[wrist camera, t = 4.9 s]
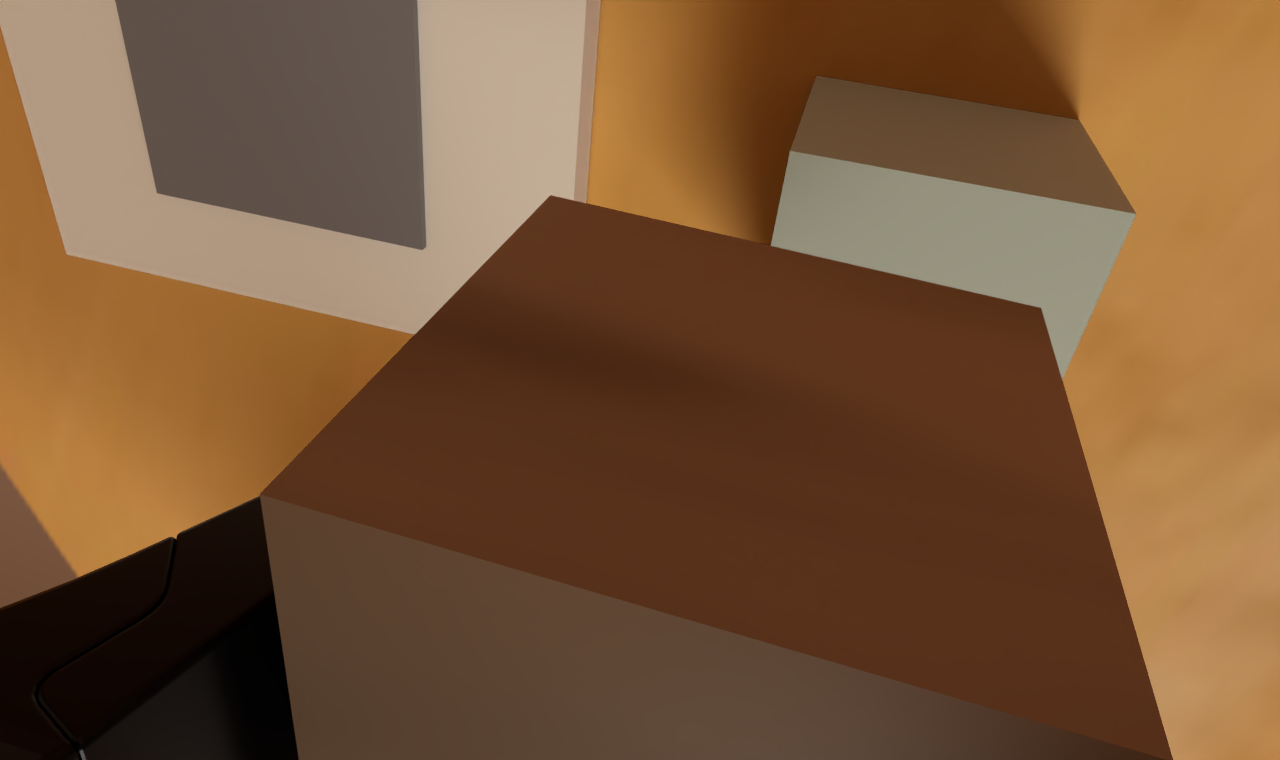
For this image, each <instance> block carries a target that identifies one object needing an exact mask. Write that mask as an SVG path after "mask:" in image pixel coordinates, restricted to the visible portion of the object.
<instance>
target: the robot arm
mask: <svg viewBox="0 0 1280 760" xmlns="http://www.w3.org/2000/svg"><path fill="white" fill-rule="evenodd" d="M0 760H299V758H298V751H297V744H296V737H295V730H294V724H293V717H292V710H291V703H290V696H289V690H288V683H287V676H286V669H285V662H284V656H283V649H282V642H281V635H280V628H279V622H278V615H277V608H276V601H275V594H274V588H273V581H272V574H271V567H270V560H269V554H268V547H267V540H266V533H265V526H264V520H263V513H262V506H261V499H260V496H259V497H257V498H254V499H252V500H250V501H248V502H246V503H244V504H241V505H239V506H237V507H235V508H233V509H230V510H228V511H226V512H224V513H222V514H219V515H217V516H215V517H213V518H211V519H209V520H206V521H204V522H202V523H200V524H198V525H195V526H193V527H191V528H189V529H187V530H184V531H182V532H180V533H179V534H178V535H177V539H175V538H173V537H169V538H166V539H164V540H162V541H160V542H158V543H155V544H153V545H151V546H149V547H147V548H145V549H142V550H140V551H138V552H136V553H134V554H131V555H129V556H127V557H124V558H122V559H120V560H117V561H115V562H113V563H111V564H108V565H106V566H104V567H101V568H99V569H97V570H94V571H92V572H90V573H87V574H85V575H83V576H81V577H78V578H76V579H74V580H71V581H68V582H66V583H63V584H61V585H58V586H56V587H53V588H50V589H48V590H45V591H43V592H40V593H38V594H36V595H33V596H30V597H28V598H25V599H22V600H20V601H17V602H15V603H12V604H10V605H7V606H4V607H2V608H0Z"/></svg>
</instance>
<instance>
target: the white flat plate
mask: <svg viewBox="0 0 1280 760" xmlns="http://www.w3.org/2000/svg"><path fill="white" fill-rule="evenodd" d="M600 5H601V0H0V27H1V30H2V34H3V37H4V41H5V44H6V47H7V51H8V54H9V58H10V61H11V65H12V68H13V72H14V75H15V79H16V82H17V85H18V89H19V92H20V96H21V99H22V103H23V106H24V110H25V113H26V117H27V120H28V123H29V127H30V130H31V134H32V137H33V141H34V144H35V148H36V151H37V155H38V158H39V161H40V165H41V168H42V172H43V175H44V179H45V182H46V186H47V189H48V193H49V196H50V199H51V203H52V206H53V210H54V213H55V217H56V220H57V224H58V227H59V231H60V234H61V237H62V241H63V244H64V248H65V251H66V254H67V255H71V256H76V257H80V258H84V259H89V260H93V261H97V262H102V263H106V264H110V265H115V266H119V267H123V268H128V269H132V270H136V271H141V272H145V273H149V274H154V275H158V276H162V277H167V278H171V279H175V280H180V281H184V282H189V283H193V284H197V285H202V286H206V287H210V288H215V289H219V290H223V291H228V292H232V293H236V294H241V295H245V296H249V297H254V298H258V299H262V300H267V301H271V302H275V303H280V304H284V305H288V306H293V307H297V308H301V309H306V310H310V311H314V312H319V313H323V314H327V315H332V316H336V317H340V318H345V319H349V320H353V321H358V322H362V323H366V324H371V325H375V326H379V327H384V328H388V329H393V330H397V331H401V332H406V333H410V334H414V335H415V334H416V333H417V332H418V331H419V330H420V329H421V328H422V327H423V326H424V325H425V324H426V323H427V322H428V321H429V320H430V319H431V318H432V317H433V315H434V314H435V313H436V312H437V311H438V310H439V309H440V308H441V307H442V306H443V305H444V304H445V303H446V302H447V301H448V300H449V299H450V298H451V297H452V296H453V295H454V294H455V293H456V292H457V291H458V290H459V289H460V288H461V287H462V286H463V285H464V284H465V283H466V282H467V280H468V279H469V278H470V277H471V276H472V275H473V274H474V273H475V272H476V271H477V270H478V269H479V268H480V267H481V266H482V265H483V264H484V263H485V262H486V261H487V260H488V259H489V258H490V257H491V256H492V255H493V254H494V253H495V252H496V251H497V250H498V249H499V248H500V247H501V246H502V244H503V243H504V242H505V241H506V240H507V239H508V238H509V237H510V236H511V235H512V234H513V233H514V232H515V231H516V230H517V229H518V228H519V227H520V226H521V225H522V224H523V223H524V222H525V221H526V220H527V219H528V218H529V217H530V216H531V215H532V214H533V213H534V212H535V211H536V209H537V208H538V207H539V206H540V205H541V204H542V203H543V202H544V201H545V200H546V199H547V198H548V197H549V196H550V195H552V196H556V197H561V198H565V199H570V200H574V201H578V202H583V203H586V198H587V185H588V171H589V157H590V143H591V129H592V116H593V102H594V88H595V74H596V60H597V47H598V33H599V19H600Z"/></svg>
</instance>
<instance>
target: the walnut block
mask: <svg viewBox="0 0 1280 760" xmlns="http://www.w3.org/2000/svg"><path fill="white" fill-rule="evenodd" d="M260 499H261V506H262V513H263V520H264V526H265V533H266V540H267V547H268V554H269V560H270V567H271V574H272V581H273V588H274V594H275V601H276V608H277V615H278V622H279V628H280V635H281V642H282V649H283V656H284V662H285V669H286V676H287V683H288V690H289V696H290V703H291V710H292V717H293V724H294V730H295V737H296V744H297V751H298V758H299V760H1173V758H1172V755H1171V751H1170V748H1169V744H1168V741H1167V738H1166V734H1165V731H1164V727H1163V724H1162V720H1161V717H1160V714H1159V710H1158V707H1157V703H1156V700H1155V696H1154V693H1153V690H1152V686H1151V683H1150V679H1149V676H1148V672H1147V669H1146V666H1145V662H1144V659H1143V655H1142V652H1141V648H1140V645H1139V642H1138V638H1137V635H1136V631H1135V628H1134V624H1133V621H1132V618H1131V614H1130V611H1129V607H1128V604H1127V600H1126V597H1125V594H1124V590H1123V587H1122V583H1121V580H1120V576H1119V573H1118V570H1117V566H1116V563H1115V559H1114V556H1113V552H1112V549H1111V546H1110V542H1109V539H1108V535H1107V532H1106V528H1105V525H1104V522H1103V518H1102V515H1101V511H1100V508H1099V504H1098V501H1097V498H1096V494H1095V491H1094V487H1093V484H1092V481H1091V477H1090V474H1089V470H1088V467H1087V463H1086V460H1085V457H1084V453H1083V450H1082V446H1081V443H1080V439H1079V436H1078V433H1077V429H1076V426H1075V422H1074V419H1073V415H1072V412H1071V409H1070V405H1069V402H1068V398H1067V395H1066V391H1065V388H1064V385H1063V381H1062V378H1061V374H1060V371H1059V367H1058V364H1057V361H1056V357H1055V354H1054V350H1053V347H1052V343H1051V340H1050V337H1049V333H1048V330H1047V326H1046V323H1045V319H1044V316H1043V313H1042V309H1041V308H1039V307H1035V306H1031V305H1026V304H1022V303H1018V302H1013V301H1009V300H1005V299H1000V298H996V297H992V296H987V295H983V294H978V293H974V292H970V291H965V290H961V289H957V288H952V287H948V286H944V285H939V284H935V283H931V282H926V281H922V280H918V279H913V278H909V277H905V276H900V275H896V274H891V273H887V272H883V271H878V270H874V269H870V268H865V267H861V266H857V265H852V264H848V263H844V262H839V261H835V260H831V259H826V258H822V257H818V256H813V255H809V254H804V253H800V252H796V251H791V250H787V249H783V248H778V247H774V246H770V245H765V244H761V243H757V242H752V241H748V240H744V239H739V238H735V237H731V236H726V235H722V234H717V233H713V232H709V231H704V230H700V229H696V228H691V227H687V226H683V225H678V224H674V223H670V222H665V221H661V220H657V219H652V218H648V217H643V216H639V215H635V214H630V213H626V212H622V211H617V210H613V209H609V208H604V207H600V206H596V205H591V204H587V203H583V202H578V201H574V200H570V199H565V198H561V197H556V196H552V195H550V196H549V197H548V198H547V199H546V200H545V201H544V202H543V203H542V204H541V205H540V206H539V207H538V208H537V209H536V211H535V212H534V213H533V214H532V215H531V216H530V217H529V218H528V219H527V220H526V221H525V222H524V223H523V224H522V225H521V226H520V227H519V228H518V229H517V230H516V231H515V232H514V233H513V234H512V235H511V236H510V237H509V238H508V239H507V240H506V241H505V242H504V243H503V244H502V246H501V247H500V248H499V249H498V250H497V251H496V252H495V253H494V254H493V255H492V256H491V257H490V258H489V259H488V260H487V261H486V262H485V263H484V264H483V265H482V266H481V267H480V268H479V269H478V270H477V271H476V272H475V273H474V274H473V275H472V276H471V277H470V278H469V279H468V280H467V282H466V283H465V284H464V285H463V286H462V287H461V288H460V289H459V290H458V291H457V292H456V293H455V294H454V295H453V296H452V297H451V298H450V299H449V300H448V301H447V302H446V303H445V304H444V305H443V306H442V307H441V308H440V309H439V310H438V311H437V312H436V313H435V314H434V315H433V317H432V318H431V319H430V320H429V321H428V322H427V323H426V324H425V325H424V326H423V327H422V328H421V329H420V330H419V331H418V332H417V333H416V334H415V335H414V336H413V337H412V338H411V339H410V340H409V341H408V342H407V343H406V344H405V345H404V346H403V347H402V348H401V349H400V350H399V352H398V353H397V354H396V355H395V356H394V357H393V358H392V359H391V360H390V361H389V362H388V363H387V364H386V365H385V366H384V367H383V368H382V369H381V370H380V371H379V372H378V373H377V374H376V375H375V376H374V377H373V378H372V379H371V380H370V381H369V382H368V383H367V384H366V385H365V387H364V388H363V389H362V390H361V391H360V392H359V393H358V394H357V395H356V396H355V397H354V398H353V399H352V400H351V401H350V402H349V403H348V404H347V405H346V406H345V407H344V408H343V409H342V410H341V411H340V412H339V413H338V414H337V415H336V416H335V417H334V418H333V419H332V420H331V422H330V423H329V424H328V425H327V426H326V427H325V428H324V429H323V430H322V431H321V432H320V433H319V434H318V435H317V436H316V437H315V438H314V439H313V440H312V441H311V442H310V443H309V444H308V445H307V446H306V447H305V448H304V449H303V450H302V451H301V452H300V453H299V454H298V455H297V457H296V458H295V459H294V460H293V461H292V462H291V463H290V464H289V465H288V466H287V467H286V468H285V469H284V470H283V471H282V472H281V473H280V474H279V475H278V476H277V477H276V478H275V479H274V480H273V481H272V482H271V483H270V484H269V485H268V486H267V487H266V488H265V489H264V490H263V492H262V493H261V494H260Z"/></svg>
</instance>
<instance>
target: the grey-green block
mask: <svg viewBox="0 0 1280 760" xmlns="http://www.w3.org/2000/svg"><path fill="white" fill-rule="evenodd" d="M1135 216H1136V213H1135V211H1134V209H1133V208H1132V206H1131V204H1130V203H1129V201H1128V199H1127V198H1126V196H1125V194H1124V193H1123V191H1122V190H1121V188H1120V186H1119V185H1118V183H1117V181H1116V180H1115V178H1114V176H1113V175H1112V173H1111V171H1110V170H1109V168H1108V167H1107V165H1106V163H1105V162H1104V160H1103V158H1102V157H1101V155H1100V153H1099V152H1098V150H1097V148H1096V147H1095V145H1094V144H1093V142H1092V140H1091V139H1090V137H1089V135H1088V134H1087V132H1086V130H1085V129H1084V127H1083V125H1082V124H1081V122H1080V121H1079V120H1076V119H1070V118H1065V117H1059V116H1053V115H1047V114H1041V113H1035V112H1029V111H1023V110H1017V109H1011V108H1005V107H999V106H994V105H988V104H982V103H976V102H970V101H964V100H958V99H952V98H946V97H940V96H934V95H928V94H923V93H917V92H911V91H905V90H899V89H893V88H887V87H881V86H875V85H869V84H863V83H857V82H852V81H846V80H840V79H834V78H828V77H822V76H816V78H815V81H814V84H813V86H812V89H811V92H810V95H809V98H808V101H807V104H806V106H805V109H804V112H803V115H802V118H801V121H800V124H799V127H798V129H797V132H796V135H795V138H794V141H793V144H792V147H791V150H790V154H789V158H788V163H787V168H786V173H785V178H784V183H783V188H782V193H781V198H780V203H779V208H778V213H777V217H776V222H775V227H774V232H773V237H772V242H771V246H774V247H778V248H783V249H787V250H791V251H796V252H800V253H804V254H809V255H813V256H818V257H822V258H826V259H831V260H835V261H839V262H844V263H848V264H852V265H857V266H861V267H865V268H870V269H874V270H878V271H883V272H887V273H891V274H896V275H900V276H905V277H909V278H913V279H918V280H922V281H926V282H931V283H935V284H939V285H944V286H948V287H952V288H957V289H961V290H965V291H970V292H974V293H978V294H983V295H987V296H992V297H996V298H1000V299H1005V300H1009V301H1013V302H1018V303H1022V304H1026V305H1031V306H1035V307H1039V308H1041V309H1042V313H1043V316H1044V319H1045V323H1046V326H1047V330H1048V333H1049V337H1050V340H1051V343H1052V347H1053V350H1054V354H1055V357H1056V361H1057V364H1058V367H1059V371H1060V374H1061V378H1062V379H1063V377H1064V374H1065V372H1066V370H1067V368H1068V365H1069V363H1070V361H1071V359H1072V357H1073V354H1074V352H1075V350H1076V348H1077V345H1078V343H1079V341H1080V339H1081V336H1082V334H1083V332H1084V330H1085V328H1086V325H1087V323H1088V321H1089V319H1090V316H1091V314H1092V312H1093V310H1094V307H1095V305H1096V303H1097V301H1098V299H1099V296H1100V294H1101V292H1102V290H1103V287H1104V285H1105V283H1106V281H1107V278H1108V276H1109V274H1110V272H1111V270H1112V267H1113V265H1114V263H1115V261H1116V258H1117V256H1118V254H1119V252H1120V249H1121V247H1122V245H1123V243H1124V241H1125V238H1126V236H1127V234H1128V232H1129V229H1130V227H1131V225H1132V223H1133V220H1134V218H1135Z"/></svg>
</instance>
